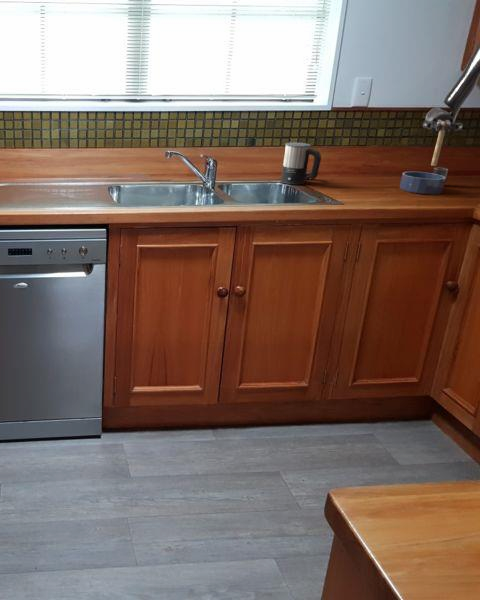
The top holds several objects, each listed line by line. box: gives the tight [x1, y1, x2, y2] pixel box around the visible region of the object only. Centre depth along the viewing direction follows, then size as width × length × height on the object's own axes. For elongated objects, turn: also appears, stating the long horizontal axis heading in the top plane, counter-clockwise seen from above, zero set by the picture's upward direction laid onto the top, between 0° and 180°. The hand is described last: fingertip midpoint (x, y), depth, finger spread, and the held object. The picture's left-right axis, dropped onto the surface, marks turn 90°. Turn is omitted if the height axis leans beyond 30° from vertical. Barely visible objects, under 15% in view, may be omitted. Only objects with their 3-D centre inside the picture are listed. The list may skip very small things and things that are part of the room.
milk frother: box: [279, 142, 322, 185], centre depth 237 cm, size 14×16×15 cm
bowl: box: [399, 171, 446, 196], centre depth 227 cm, size 14×14×6 cm
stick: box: [430, 121, 447, 167], centre depth 226 cm, size 2×2×16 cm
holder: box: [432, 167, 449, 184], centre depth 235 cm, size 5×5×7 cm
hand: (443, 128), depth 221 cm, fingers closed on stick, 2 cm apart
